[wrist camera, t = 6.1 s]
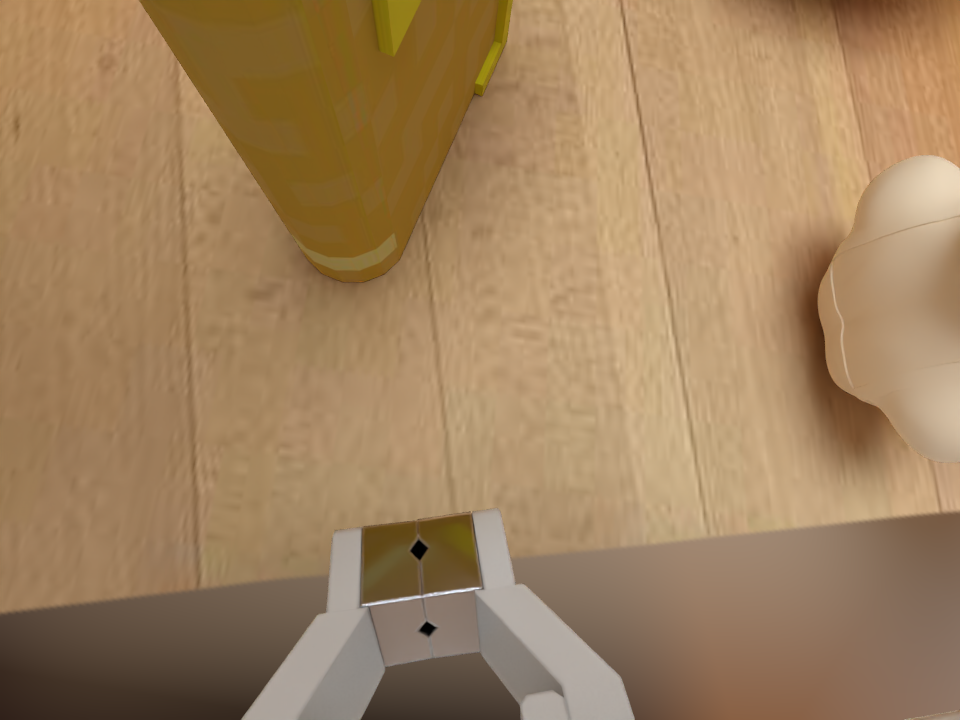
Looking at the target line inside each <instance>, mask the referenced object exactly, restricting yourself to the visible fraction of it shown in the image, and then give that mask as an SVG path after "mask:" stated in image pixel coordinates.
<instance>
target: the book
mask: <svg viewBox="0 0 960 720" xmlns="http://www.w3.org/2000/svg"><path fill="white" fill-rule="evenodd" d="M139 1H140V2H141V4H142V6H143V7H144V9H145V10H146V12H147V13H148V15H149V16H150V18H151V19H152V21H153V22H154V24H155V26H156V27H157V29H158V30H159V32H160V33H161V35H162V36H163V38H164V39H165V41H166V42H167V44H168V46H169V47H170V49H171V50H172V52H173V53H174V55H175V56H176V58H177V59H178V61H179V62H180V64H181V66H182V67H183V69H184V70H185V72H186V73H187V75H188V76H189V78H190V79H191V81H192V83H193V84H194V86H195V87H196V89H197V90H198V92H199V93H200V95H201V96H202V98H203V99H204V101H205V103H206V104H207V106H208V107H209V109H210V110H211V112H212V113H213V115H214V116H215V118H216V119H217V121H218V123H219V124H220V126H221V127H222V129H223V130H224V132H225V133H226V135H227V136H228V138H229V140H230V141H231V143H232V144H233V146H234V147H235V149H236V150H237V152H238V153H239V155H240V156H241V158H242V160H243V161H244V163H245V164H246V166H247V167H248V169H249V170H250V172H251V173H252V175H253V176H254V178H255V180H256V181H257V183H258V184H259V186H260V187H261V189H262V190H263V192H264V193H265V195H266V196H267V198H268V200H269V201H270V203H271V204H272V206H273V207H274V209H275V210H276V212H277V213H278V215H279V217H280V218H281V220H282V221H283V223H284V224H285V226H286V227H287V229H288V230H289V232H290V233H291V235H292V237H293V238H294V240H295V241H296V243H297V244H298V246H299V247H300V249H301V250H302V252H303V253H304V255H305V257H306V258H307V259H308V260H309V261H310V262H311V263H312V264H313V265H314V266H315V267H316V268H317V269H318V270H319V271H320V272H321V273H322V274H324V275H326V276H329V277H331V278H334V279H336V280H339V281H341V282H365V281H368V280H370V279H373V278H376V277H378V276H381V275H383V274H385V273H386V272H387V271H388V270H389V269H390V268H391V267H392V266H393V265H395V264H396V263H397V262H398V261H399V260H400V258H401V255H402V253H403V251H404V249H405V247H406V244H407V242H408V240H409V238H410V235H411V233H412V231H413V229H414V227H415V224H416V222H417V220H418V218H419V215H420V213H421V211H422V209H423V206H424V204H425V202H426V200H427V198H428V195H429V193H430V191H431V189H432V186H433V184H434V182H435V180H436V178H437V175H438V173H439V171H440V169H441V166H442V164H443V162H444V160H445V157H446V155H447V153H448V151H449V149H450V146H451V144H452V142H453V140H454V137H455V135H456V133H457V131H458V129H459V126H460V124H461V122H462V120H463V117H464V115H465V113H466V111H467V108H468V106H469V104H470V102H471V100H472V97H473V95H474V93H475V94H478V95H480V96H483V93H484V91H485V89H486V87H487V84H488V82H489V80H490V78H491V75H492V73H493V71H494V69H495V66H496V64H497V62H498V60H499V57H500V55H501V53H502V51H503V49H504V46H505V44H506V42H507V36H508V29H509V22H510V15H511V9H512V2H513V0H139Z"/></svg>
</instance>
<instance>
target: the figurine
mask: <svg viewBox="0 0 960 720" xmlns="http://www.w3.org/2000/svg"><path fill="white" fill-rule="evenodd" d="M818 312H819V317H820V321H821V324H822V328H823V331H824V336H825V357H826V363H827V367H828V370H829V373H830V375H831V377H832V379H833V381H834V382H835V383H836V385H837V386H839V387H840V388H841V389H843V390H844V391H846V392H847V393H849V394H851V395H854V396H856V397H857V398H858V399H859V400H861V401H863V402H866V403H869V404H871V405H874V406H877V407H879V408H880V409H881V410H882V411H883V412H884V414H885V415H886V416H887V418H888V419H889V421H890V422H891V424H892V425H893V427H894V428H895V430H896V431H897V433H898V434H899V435H900V437H901V438H902V439H903V440H904V441H905V442H906V443H907V444H908V445H909V446H910V447H911V448H912V449H913V450H915V451H916V452H917V453H919V454H920V455H922V456H924V457H925V458H927V459H930V460H932V461H935V462H940V463H958V462H960V168H958V167H957V166H956V165H954V164H953V163H951V162H950V161H948V160H946V159H944V158H941V157H938V156H933V155H920V156H915V157H911V158H908V159H905V160H903V161H900V162H898V163H896V164H894V165H892V166H891V167H889V168H887V169H886V170H884V171H883V172H881V173H880V174H879V175H878V176H877V177H875V178H874V179H873V180H872V181H871V182H870V184H869V185H868V186H867V188H866V189H865V190H864V192H863V194H862V196H861V198H860V200H859V203H858V206H857V210H856V215H855V220H854V225H853V228H852V230H851V233H850V234H849V236H848V237H847V238H846V239H845V240H844V241H843V242H842V243H841V244H840V246H839V247H838V249H837V251H836V253H835V255H834V257H833V259H832V261H831V263H830V265H829V268H828V270H827V272H826V274H825V275H824V277H823V279H822V281H821V284H820V287H819V292H818Z"/></svg>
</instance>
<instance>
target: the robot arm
mask: <svg viewBox="0 0 960 720" xmlns="http://www.w3.org/2000/svg"><path fill="white" fill-rule="evenodd" d="M478 652H481V655H482V657H483V658H484V659H485V661H486V662H487V663H488V665H489V666H490V667H491V668H492V670H493V671H494V672H495V674H496V675H497V676H498V678H499V679H500V680H501V681H502V683H503V684H504V685H505V687H506V688H507V689H508V690H509V692H510V693H511V694H512V696H513V697H514V698H515V700H516V701H517V702H518V703H519V705H520V718H521V720H635V719H634V715H633V712H632V709H631V706H630V703H629V700H628V697H627V694H626V691H625V688H624V685H623V681H622V678H621V677H620V676H619V675H618V674H617V673H616V672H615V671H614V670H613V669H612V668H611V667H610V666H609V665H608V664H607V663H606V662H605V661H604V660H603V659H602V658H601V657H600V656H599V655H598V654H596V652H595V651H594V650H593V649H591V648H590V647H589V646H588V645H587V644H586V643H585V642H584V641H583V640H582V639H581V638H580V637H579V636H578V635H577V634H576V633H575V632H574V631H573V630H572V629H571V628H570V627H569V626H567V624H566V623H565V622H563V620H561V619H560V618H559V617H558V616H557V615H556V614H555V613H554V612H553V611H552V610H551V609H550V608H549V607H548V606H547V605H546V604H545V603H544V602H543V601H542V600H541V599H540V598H539V597H538V596H537V595H536V594H535V593H534V592H532V591H531V590H530V589H529V588H528V587H527V586H526V585H525V584H516V582H515V577H514V572H513V568H512V563H511V558H510V553H509V549H508V544H507V539H506V534H505V530H504V525H503V520H502V515H501V512H500V510H499V509H498V508H494V509H487V510H479V511H472V513H471V511H469V512H462V513H456V514H449V515H443V516H436V517H430V518H423V519H418V520H416V521H407V522H398V523H389V524H380V525H371V526H363V527H356V528H348V529H340V530H335V531H334V534H333V537H332V543H331V556H330V568H329V581H328V594H327V607H326V613H322V614H317V616H316V617H315V618H314V620H313V621H312V623H311V624H310V625H309V627H308V628H307V629H306V631H305V632H304V634H303V635H302V636H301V638H300V639H299V641H298V642H297V643H296V645H295V646H294V648H293V649H292V650H291V652H290V653H289V654H288V656H287V657H286V658H285V660H284V661H283V663H282V664H281V665H280V667H279V668H278V669H277V671H276V672H275V674H274V675H273V676H272V678H271V679H270V681H269V682H268V683H267V685H266V686H265V688H264V689H263V690H262V692H261V693H260V694H259V696H258V697H257V698H256V700H255V701H254V703H253V704H252V705H251V707H250V708H249V710H248V711H247V713H246V714H245V715H244V716H243V718H242V719H241V720H361V718H362V716H363V714H364V712H365V710H366V708H367V706H368V704H369V702H370V700H371V698H372V696H373V694H374V692H375V690H376V688H377V686H378V684H379V682H380V680H381V678H382V676H383V674H384V672H385V667H388V666H394V665H400V664H405V663H410V662H416V661H421V660H427V659H432V658H439V657H447V656H454V655H463V654H470V653H478ZM906 720H960V710H957V711H951V712H946V713H940V714H934V715H929V716H923V717H918V718H911V719H906Z"/></svg>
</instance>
